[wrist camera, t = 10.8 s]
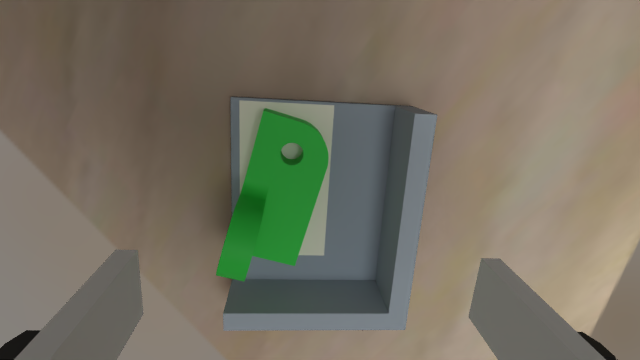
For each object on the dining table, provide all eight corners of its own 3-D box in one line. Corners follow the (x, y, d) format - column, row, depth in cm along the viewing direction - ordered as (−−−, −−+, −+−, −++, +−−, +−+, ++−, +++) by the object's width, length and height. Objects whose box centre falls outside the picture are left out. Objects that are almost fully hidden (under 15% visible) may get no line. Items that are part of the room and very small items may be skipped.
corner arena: (232, 96, 30) (219, 103, 25) (411, 106, 32) (437, 114, 26) (233, 289, 36) (223, 330, 30) (387, 290, 37) (405, 329, 31)
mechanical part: (294, 254, 34) (295, 309, 26) (229, 238, 33) (211, 290, 25) (335, 129, 31) (350, 150, 23) (265, 107, 30) (256, 122, 22)
